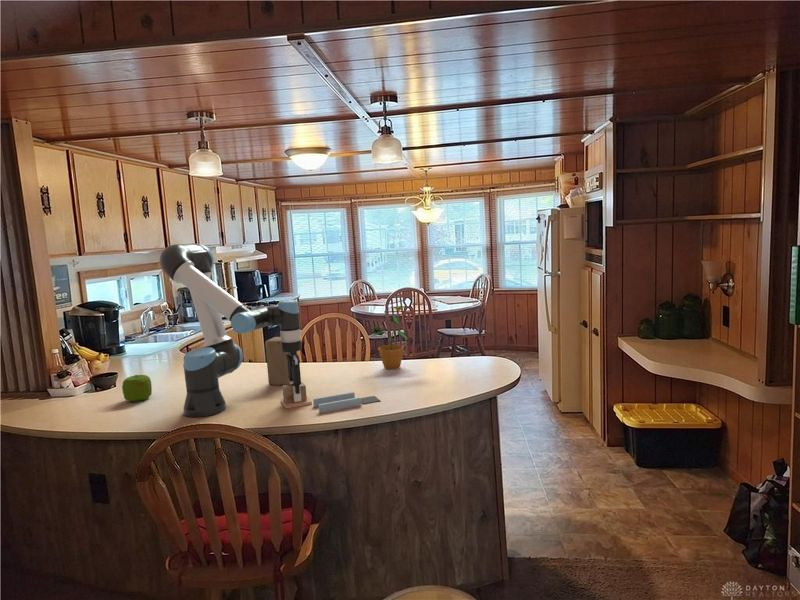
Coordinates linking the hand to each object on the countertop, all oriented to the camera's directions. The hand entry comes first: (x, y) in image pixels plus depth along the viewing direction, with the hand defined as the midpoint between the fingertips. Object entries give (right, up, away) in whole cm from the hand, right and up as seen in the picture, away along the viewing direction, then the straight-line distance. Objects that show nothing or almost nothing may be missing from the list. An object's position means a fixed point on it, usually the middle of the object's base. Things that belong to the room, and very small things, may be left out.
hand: (296, 399), depth 205 cm
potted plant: (+37, +6, +47) cm, 60 cm away
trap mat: (+28, 0, -2) cm, 28 cm away
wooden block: (-12, +1, +31) cm, 34 cm away
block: (0, -1, 0) cm, 1 cm away
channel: (+17, -1, -6) cm, 18 cm away
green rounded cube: (-69, -4, +17) cm, 71 cm away
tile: (0, -2, 0) cm, 1 cm away
